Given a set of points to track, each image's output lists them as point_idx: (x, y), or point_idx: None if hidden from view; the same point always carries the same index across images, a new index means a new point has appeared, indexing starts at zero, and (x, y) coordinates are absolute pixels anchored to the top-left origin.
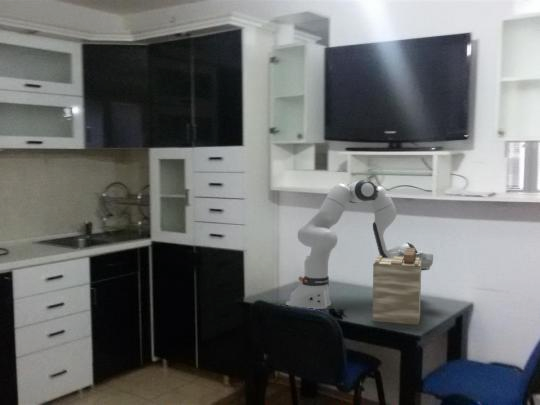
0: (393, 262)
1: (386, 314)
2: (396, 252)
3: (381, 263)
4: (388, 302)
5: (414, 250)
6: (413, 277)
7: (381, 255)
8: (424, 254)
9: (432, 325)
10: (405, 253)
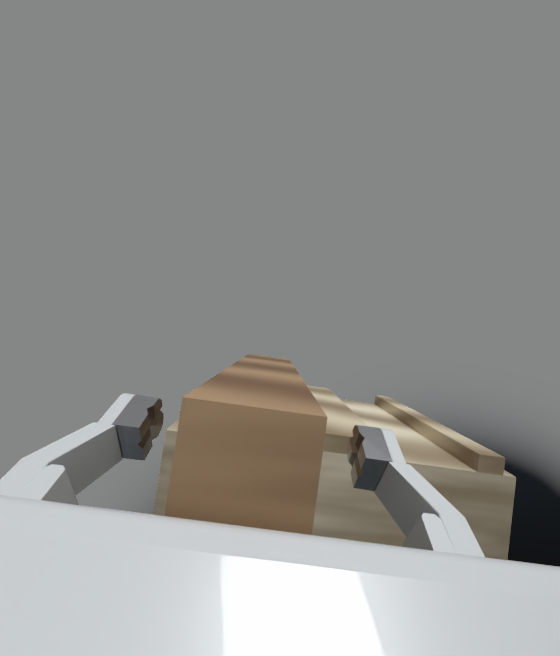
0: (319, 387)
1: None
2: (513, 561)
3: (367, 405)
4: None
5: (231, 367)
6: None
7: (482, 453)
8: (56, 453)
9: None
10: (286, 361)
